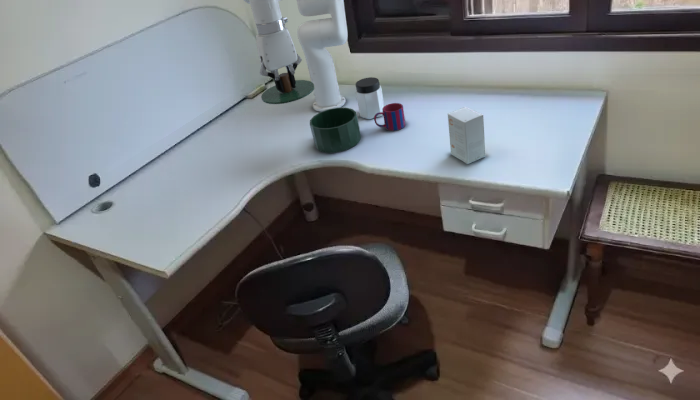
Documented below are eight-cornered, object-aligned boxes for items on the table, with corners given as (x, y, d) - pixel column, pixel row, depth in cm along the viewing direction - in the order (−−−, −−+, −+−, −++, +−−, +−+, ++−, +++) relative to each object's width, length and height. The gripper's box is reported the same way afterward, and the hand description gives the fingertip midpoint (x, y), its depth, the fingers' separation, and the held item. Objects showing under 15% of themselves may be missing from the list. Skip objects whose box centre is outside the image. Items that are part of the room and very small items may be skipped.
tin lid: (265, 89, 161) (259, 70, 157) (315, 80, 160) (311, 60, 156) (259, 110, 147) (253, 89, 144) (314, 99, 146) (309, 79, 143)
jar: (389, 111, 182) (384, 79, 175) (372, 121, 178) (366, 88, 171) (372, 106, 188) (367, 75, 181) (355, 115, 184) (349, 84, 178)
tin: (316, 135, 177) (310, 112, 173) (360, 127, 176) (355, 104, 171) (314, 156, 165) (308, 132, 160) (361, 148, 163) (357, 123, 159)
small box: (486, 156, 145) (484, 114, 138) (467, 164, 144) (464, 122, 137) (468, 146, 152) (465, 105, 145) (450, 154, 150) (446, 113, 143)
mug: (407, 127, 169) (405, 108, 165) (378, 135, 169) (374, 116, 165) (402, 119, 175) (400, 101, 171) (374, 126, 174) (370, 108, 170)
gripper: (290, 16, 148) (305, 77, 158) (238, 34, 143) (257, 96, 153) (302, 19, 143) (317, 82, 153) (248, 38, 137) (267, 102, 147)
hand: (287, 88), depth 153 cm, fingers closed on tin lid, 3 cm apart
